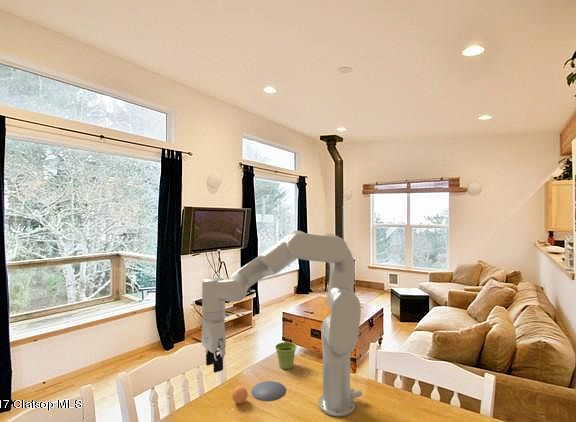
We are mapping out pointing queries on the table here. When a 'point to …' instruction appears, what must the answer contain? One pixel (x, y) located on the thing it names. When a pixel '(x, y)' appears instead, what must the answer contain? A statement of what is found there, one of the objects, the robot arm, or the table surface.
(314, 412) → the table surface
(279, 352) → the plant pot
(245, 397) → the ball
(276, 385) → the disc
